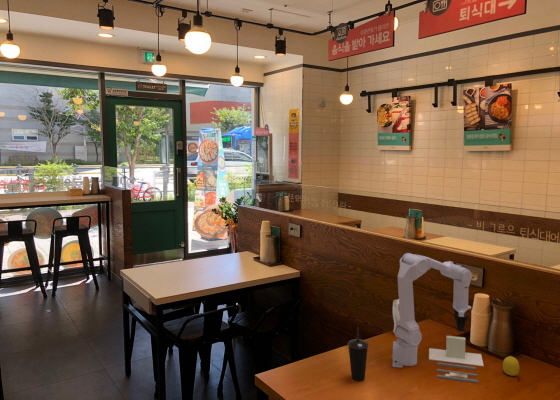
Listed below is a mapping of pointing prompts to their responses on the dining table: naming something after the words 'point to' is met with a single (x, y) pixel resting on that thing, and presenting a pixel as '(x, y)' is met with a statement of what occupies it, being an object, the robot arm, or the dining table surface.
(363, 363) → the drinking cup
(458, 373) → the offcut top
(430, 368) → the dining table surface
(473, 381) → the rack
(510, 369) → the lemon
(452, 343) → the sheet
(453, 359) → the board
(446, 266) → the robot arm
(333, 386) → the dining table surface
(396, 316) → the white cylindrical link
